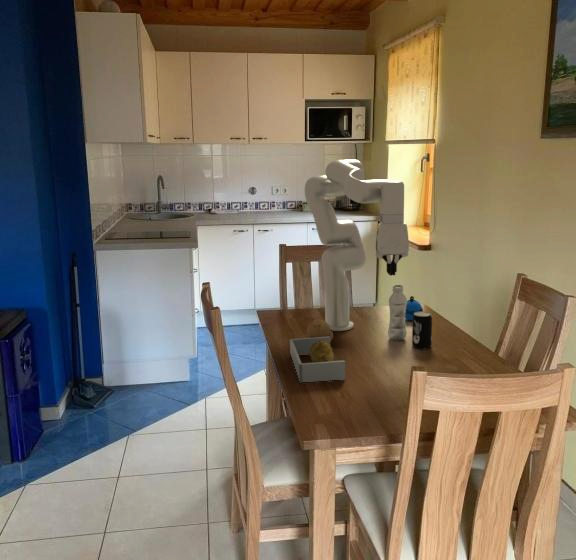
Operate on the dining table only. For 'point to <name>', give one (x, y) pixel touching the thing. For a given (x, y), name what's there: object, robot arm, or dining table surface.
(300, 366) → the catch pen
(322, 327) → the natural sponge
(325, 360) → the potato
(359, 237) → the robot arm
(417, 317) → the beverage can
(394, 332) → the plastic bottle
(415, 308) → the ornament
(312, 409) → the dining table surface
